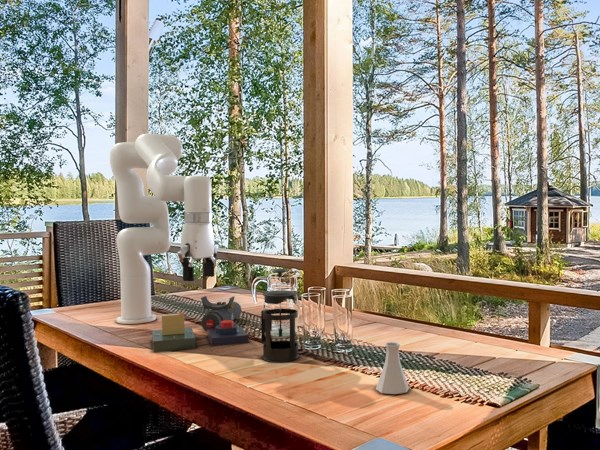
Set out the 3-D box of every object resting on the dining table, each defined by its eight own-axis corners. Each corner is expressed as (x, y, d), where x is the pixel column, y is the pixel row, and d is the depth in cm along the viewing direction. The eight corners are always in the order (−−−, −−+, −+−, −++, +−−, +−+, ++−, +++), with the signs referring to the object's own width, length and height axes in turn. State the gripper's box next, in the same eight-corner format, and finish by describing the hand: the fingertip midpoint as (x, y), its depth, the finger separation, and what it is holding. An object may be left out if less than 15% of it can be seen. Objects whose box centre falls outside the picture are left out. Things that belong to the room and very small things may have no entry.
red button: (220, 326, 168) (220, 320, 168) (232, 325, 169) (232, 319, 169) (221, 329, 164) (221, 323, 164) (234, 328, 166) (234, 322, 166)
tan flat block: (162, 335, 159) (161, 315, 159) (162, 333, 161) (161, 313, 161) (184, 333, 161) (184, 313, 161) (184, 332, 163) (183, 312, 163)
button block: (207, 336, 171) (207, 323, 170) (241, 333, 174) (241, 320, 174) (212, 346, 159) (212, 331, 159) (248, 342, 163) (247, 328, 163)
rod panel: (152, 340, 166) (152, 329, 166) (191, 337, 170) (191, 326, 170) (153, 352, 153) (153, 340, 153) (195, 348, 157) (195, 337, 157)
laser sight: (247, 318, 196) (247, 290, 195) (224, 334, 173) (224, 301, 173) (219, 318, 197) (219, 289, 196) (194, 333, 174) (193, 301, 174)
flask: (374, 384, 126) (374, 340, 126) (406, 383, 127) (406, 339, 126) (377, 395, 119) (377, 348, 118) (411, 394, 120) (411, 347, 119)
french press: (308, 356, 148) (307, 269, 147) (282, 365, 141) (281, 273, 140) (276, 349, 156) (276, 266, 154) (250, 357, 148) (249, 269, 147)
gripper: (205, 218, 172) (206, 274, 173) (167, 220, 155) (168, 282, 156) (226, 218, 169) (227, 275, 170) (190, 220, 153) (191, 283, 154)
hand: (199, 278), depth 163 cm, fingers open, 9 cm apart
